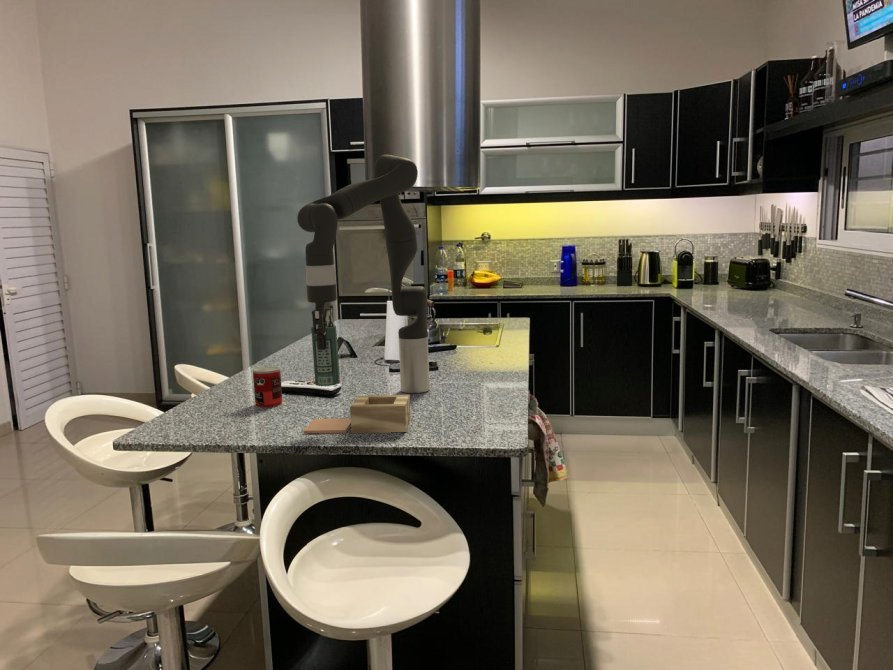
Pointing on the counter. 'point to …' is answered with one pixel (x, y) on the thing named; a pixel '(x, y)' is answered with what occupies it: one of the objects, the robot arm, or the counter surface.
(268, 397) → the canned food
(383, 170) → the robot arm
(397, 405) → the bore block
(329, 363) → the can
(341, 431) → the plate
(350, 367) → the counter surface
